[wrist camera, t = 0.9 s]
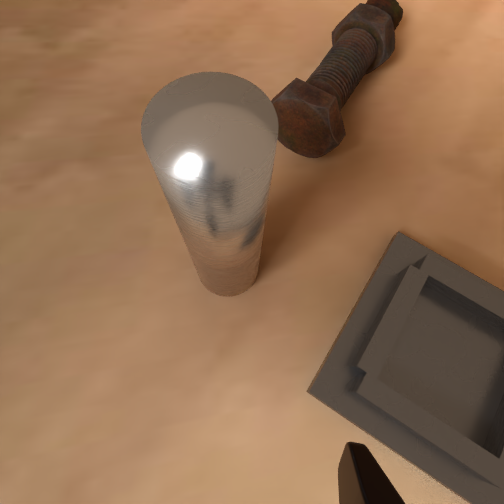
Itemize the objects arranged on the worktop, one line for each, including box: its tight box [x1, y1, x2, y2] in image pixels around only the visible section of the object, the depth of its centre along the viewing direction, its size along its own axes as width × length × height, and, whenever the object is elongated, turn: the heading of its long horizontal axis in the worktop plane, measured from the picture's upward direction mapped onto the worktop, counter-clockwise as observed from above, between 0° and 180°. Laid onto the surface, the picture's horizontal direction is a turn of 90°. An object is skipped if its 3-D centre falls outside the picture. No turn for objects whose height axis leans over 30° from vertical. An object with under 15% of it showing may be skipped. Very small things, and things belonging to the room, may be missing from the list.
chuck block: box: [307, 231, 504, 504], centre depth 21 cm, size 12×12×2 cm
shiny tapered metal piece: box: [141, 72, 278, 296], centre depth 17 cm, size 4×4×14 cm
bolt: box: [271, 0, 403, 158], centre depth 27 cm, size 6×5×15 cm
